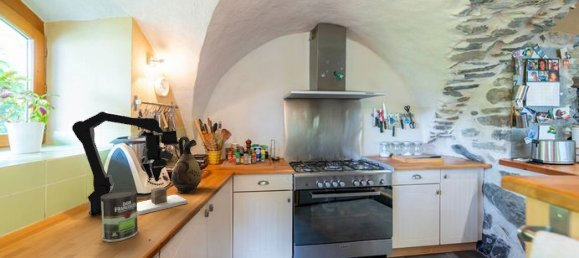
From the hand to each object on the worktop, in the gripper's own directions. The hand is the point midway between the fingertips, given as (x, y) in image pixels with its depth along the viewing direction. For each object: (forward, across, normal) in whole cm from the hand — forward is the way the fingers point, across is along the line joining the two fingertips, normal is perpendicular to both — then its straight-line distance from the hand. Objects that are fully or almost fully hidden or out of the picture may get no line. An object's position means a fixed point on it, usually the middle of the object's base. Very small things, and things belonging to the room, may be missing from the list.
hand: (153, 179), depth 119 cm
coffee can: (+12, -25, +18) cm, 33 cm away
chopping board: (+12, -2, -2) cm, 12 cm away
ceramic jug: (+12, +14, -21) cm, 27 cm away
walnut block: (+10, -2, -2) cm, 11 cm away
